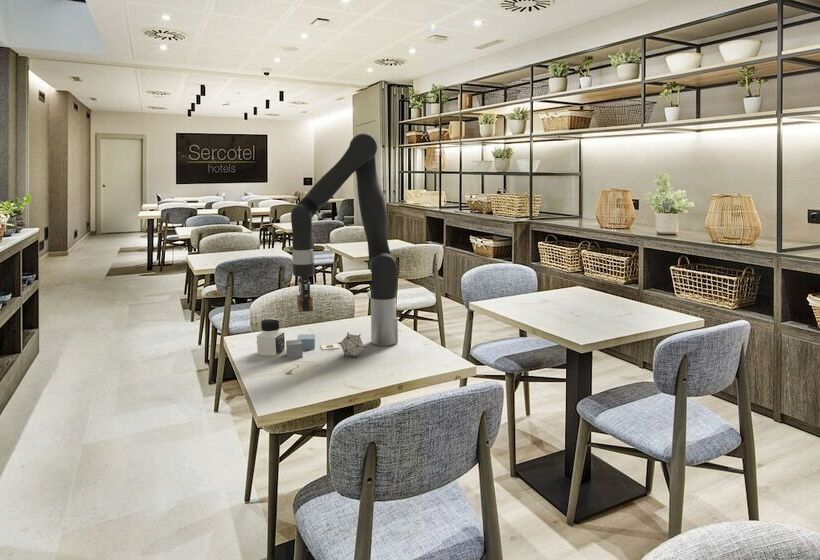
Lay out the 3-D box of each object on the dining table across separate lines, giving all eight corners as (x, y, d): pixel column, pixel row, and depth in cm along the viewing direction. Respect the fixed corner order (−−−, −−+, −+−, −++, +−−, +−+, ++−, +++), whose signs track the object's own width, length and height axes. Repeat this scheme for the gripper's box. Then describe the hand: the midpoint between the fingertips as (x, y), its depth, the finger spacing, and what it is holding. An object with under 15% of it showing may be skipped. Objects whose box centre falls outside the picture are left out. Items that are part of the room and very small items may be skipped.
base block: (315, 344, 208) (314, 334, 207) (314, 349, 202) (314, 338, 201) (298, 345, 207) (298, 334, 206) (297, 350, 201) (297, 339, 200)
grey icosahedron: (357, 365, 196) (375, 343, 195) (345, 364, 188) (363, 340, 187) (341, 349, 200) (358, 327, 198) (328, 347, 192) (346, 324, 191)
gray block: (301, 353, 198) (300, 339, 197) (302, 357, 193) (302, 343, 192) (286, 354, 196) (286, 340, 195) (287, 359, 192) (287, 345, 191)
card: (337, 344, 207) (337, 343, 207) (339, 348, 202) (339, 347, 202) (320, 346, 205) (320, 345, 205) (322, 349, 201) (322, 348, 201)
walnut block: (311, 307, 205) (310, 294, 204) (312, 311, 200) (312, 297, 199) (297, 308, 203) (296, 295, 202) (298, 312, 199) (298, 298, 198)
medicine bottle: (276, 356, 194) (275, 323, 191) (257, 355, 195) (255, 321, 193) (285, 350, 201) (283, 317, 198) (266, 349, 202) (264, 316, 200)
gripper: (316, 264, 193) (318, 313, 196) (311, 258, 206) (313, 303, 209) (294, 265, 190) (296, 314, 194) (290, 259, 204) (292, 305, 207)
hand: (305, 308), depth 202 cm, fingers closed on walnut block, 5 cm apart
